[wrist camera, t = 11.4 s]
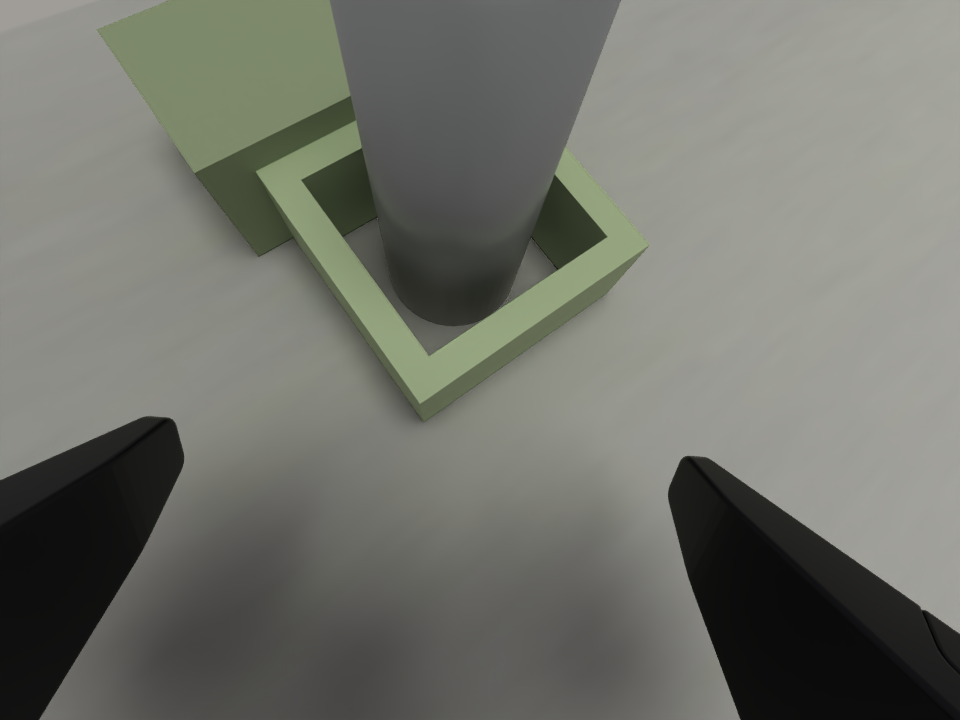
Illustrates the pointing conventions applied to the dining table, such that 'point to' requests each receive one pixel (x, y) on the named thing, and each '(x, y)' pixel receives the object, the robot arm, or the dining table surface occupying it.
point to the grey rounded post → (464, 132)
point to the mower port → (341, 177)
